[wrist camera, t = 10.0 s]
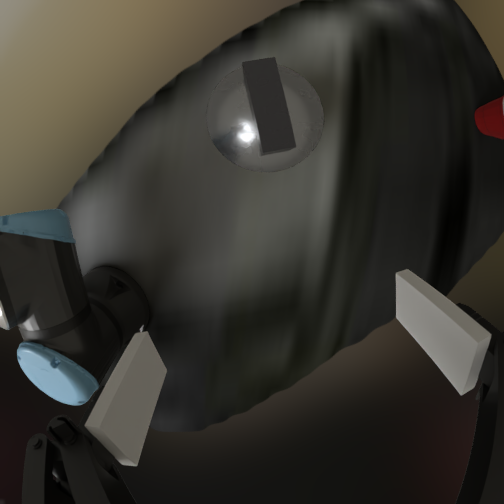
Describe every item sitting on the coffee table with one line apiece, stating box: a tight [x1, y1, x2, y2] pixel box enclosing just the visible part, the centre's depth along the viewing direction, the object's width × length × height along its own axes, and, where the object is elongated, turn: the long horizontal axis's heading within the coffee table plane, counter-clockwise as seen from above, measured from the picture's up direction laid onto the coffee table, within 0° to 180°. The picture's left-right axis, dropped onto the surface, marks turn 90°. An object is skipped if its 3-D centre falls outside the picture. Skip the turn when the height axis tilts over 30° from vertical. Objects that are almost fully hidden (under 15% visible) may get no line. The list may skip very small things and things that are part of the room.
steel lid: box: [206, 57, 324, 172], centre depth 25 cm, size 13×13×7 cm
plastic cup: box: [475, 96, 504, 139], centre depth 30 cm, size 11×11×12 cm
